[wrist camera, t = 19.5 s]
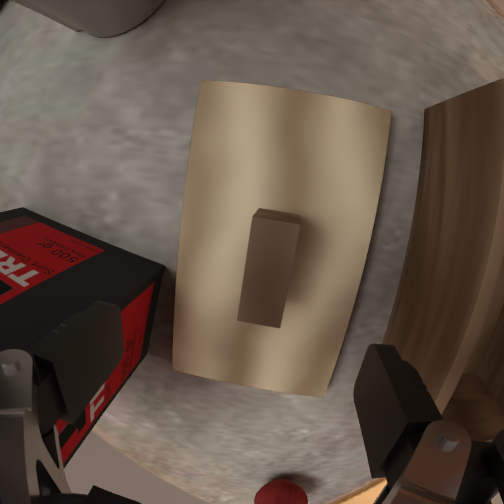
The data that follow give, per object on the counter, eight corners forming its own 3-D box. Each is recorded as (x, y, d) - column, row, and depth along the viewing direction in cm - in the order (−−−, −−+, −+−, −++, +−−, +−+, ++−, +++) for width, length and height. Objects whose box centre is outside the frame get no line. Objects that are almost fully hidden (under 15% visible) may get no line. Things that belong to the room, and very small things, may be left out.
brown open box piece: (355, 416, 25) (373, 512, 15) (424, 109, 18) (517, 73, 8) (455, 412, 24) (492, 486, 14) (531, 151, 17) (621, 155, 7)
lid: (180, 355, 26) (155, 399, 20) (208, 88, 20) (181, 61, 14) (321, 381, 25) (327, 431, 19) (382, 116, 19) (414, 98, 13)
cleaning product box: (19, 286, 26) (-118, 370, 7) (23, 207, 24) (-150, 261, 5) (146, 353, 26) (22, 530, 7) (165, 265, 24) (-41, 448, 4)
